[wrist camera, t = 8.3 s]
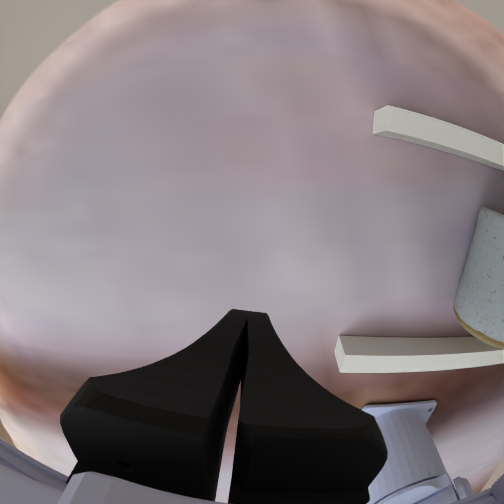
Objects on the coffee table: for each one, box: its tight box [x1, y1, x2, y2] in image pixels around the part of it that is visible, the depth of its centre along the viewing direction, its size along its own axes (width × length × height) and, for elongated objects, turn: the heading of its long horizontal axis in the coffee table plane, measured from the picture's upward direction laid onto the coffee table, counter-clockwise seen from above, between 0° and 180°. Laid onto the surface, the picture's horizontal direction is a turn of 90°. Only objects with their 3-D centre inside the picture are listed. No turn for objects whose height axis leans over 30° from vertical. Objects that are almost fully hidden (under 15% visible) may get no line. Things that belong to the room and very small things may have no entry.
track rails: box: [334, 105, 504, 373], centre depth 17 cm, size 17×18×2 cm
